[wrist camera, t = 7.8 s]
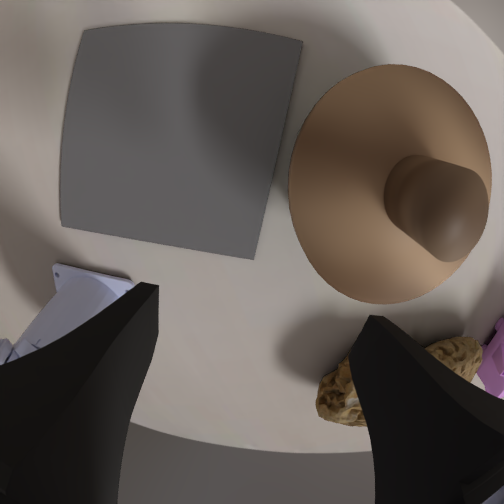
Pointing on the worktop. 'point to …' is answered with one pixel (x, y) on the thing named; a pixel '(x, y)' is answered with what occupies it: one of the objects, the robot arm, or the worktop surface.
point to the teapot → (493, 363)
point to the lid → (389, 184)
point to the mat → (175, 133)
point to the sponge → (344, 394)
